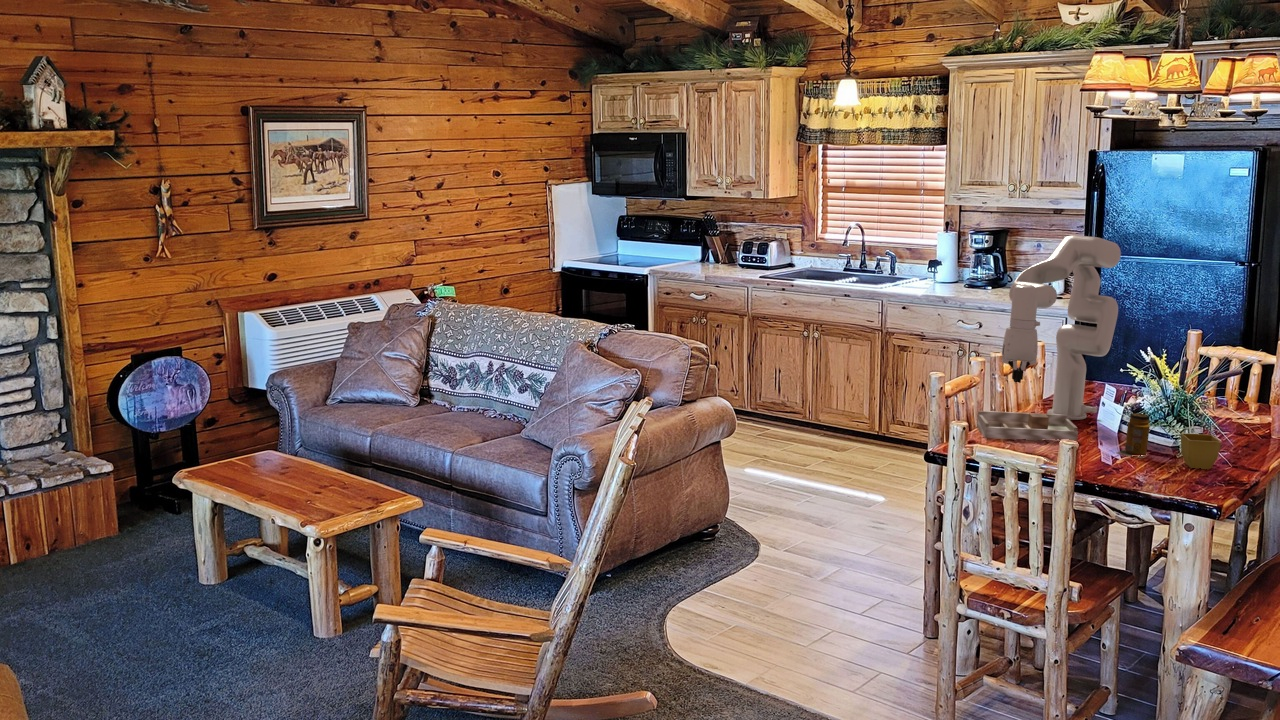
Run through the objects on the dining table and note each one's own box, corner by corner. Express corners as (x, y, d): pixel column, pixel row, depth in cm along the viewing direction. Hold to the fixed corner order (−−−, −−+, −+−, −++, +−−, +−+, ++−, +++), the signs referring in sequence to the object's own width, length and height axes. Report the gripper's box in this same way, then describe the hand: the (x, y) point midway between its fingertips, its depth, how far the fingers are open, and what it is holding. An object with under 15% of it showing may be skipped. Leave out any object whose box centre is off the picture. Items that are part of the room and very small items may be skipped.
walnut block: (1043, 425, 360) (1045, 413, 360) (1047, 429, 355) (1048, 417, 355) (1027, 425, 361) (1028, 413, 360) (1031, 429, 356) (1032, 416, 355)
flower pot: (1176, 462, 331) (1180, 432, 330) (1208, 464, 330) (1212, 434, 328) (1185, 470, 323) (1189, 440, 321) (1218, 472, 321) (1222, 442, 320)
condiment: (1151, 453, 340) (1156, 415, 338) (1140, 458, 334) (1144, 419, 332) (1127, 448, 345) (1131, 410, 343) (1115, 453, 339) (1120, 414, 337)
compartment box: (1065, 431, 364) (1066, 414, 363) (1076, 442, 351) (1078, 425, 350) (976, 427, 367) (978, 410, 366) (985, 437, 354) (986, 421, 352)
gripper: (1044, 324, 355) (1038, 380, 359) (995, 321, 357) (990, 378, 360) (1050, 327, 348) (1044, 385, 351) (1000, 325, 350) (995, 383, 353)
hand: (1016, 381), depth 356 cm, fingers closed
